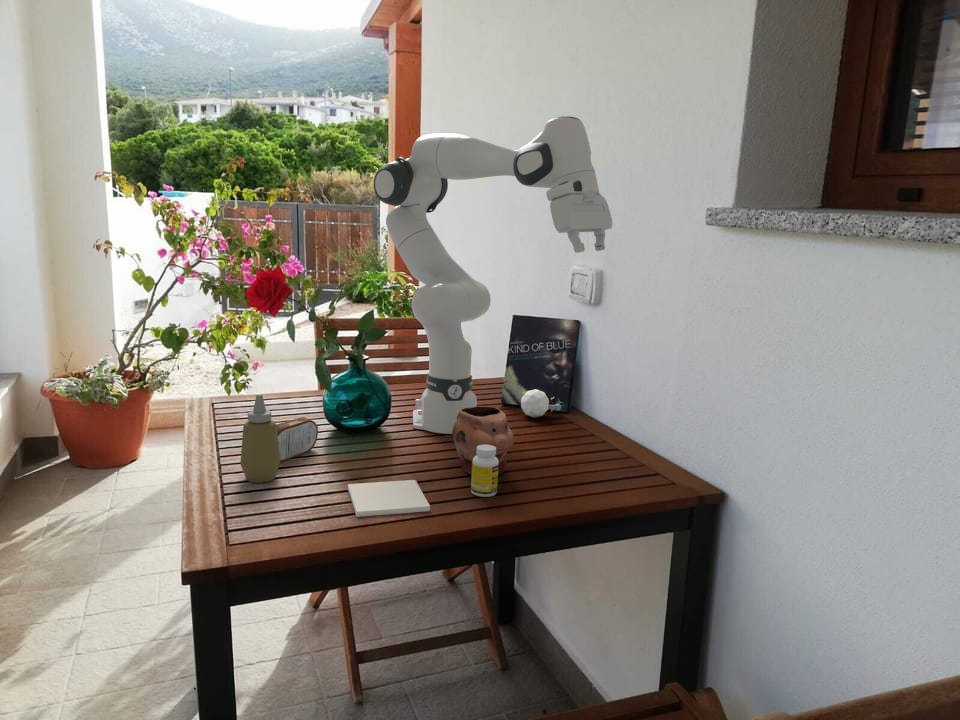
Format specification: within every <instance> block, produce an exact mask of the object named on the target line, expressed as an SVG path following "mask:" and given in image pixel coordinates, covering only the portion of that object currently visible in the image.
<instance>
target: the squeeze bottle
mask: <svg viewBox="0 0 960 720" xmlns="http://www.w3.org/2000/svg"><path fill="white" fill-rule="evenodd" d="M247 420H248V421H246V422H245V423H244V424H243V427H242V428H243V429H242V436H241V437H242V438H241V448H240V450H241V451H240V463H239V465H240V467H241V469H242V472H243V475H244V477H245V479H246V480H247V482H250V483H255V484H257V483H260V484H261V483H266V482H271V481H273V480H274V479H276V478H277V477H276V476H277V472H278V470H279V467H280V465H281V461H280V452H279V443H278V435H277V427H276V425H277V422H275V421H273V420H272V411H271V410H269V409H267V408H266V405H265V399H264V396H263V394H256V396H255V400H254V405H253V409H252V410H250V411H248V412H247Z"/></svg>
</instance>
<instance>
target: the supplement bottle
mask: <svg viewBox="0 0 960 720" xmlns="http://www.w3.org/2000/svg"><path fill="white" fill-rule="evenodd" d="M476 452H477V453H476V454H477V456H475V457H474V458H473V461H472V474H471V477H470V478H471V481H470V492H471V494H472V495H474V496H477V497H483V498H488V497H489V498H490V497H493V496H495V495H496V494H497V492H498V483H499V482H498V479H499V475H498V465H499V461H498V459H497V458H496V457H495V455H496V447H495V446H492V445H479V446H477V450H476Z"/></svg>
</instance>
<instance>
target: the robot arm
mask: <svg viewBox="0 0 960 720" xmlns="http://www.w3.org/2000/svg"><path fill="white" fill-rule="evenodd" d="M587 133H588V132H587V131H586V128H585V125H584V123H583V121H582V120H581V119H580V118H579V117H575V116H570V115H566V116H556V117H553V118H552V117H551V118H550V119H548V120H547V121H546V123H545V124H544V127H543V129H542V130H541V131H540V132H539V134H538V135H537V136H536V137H534V138H533V139H532V140H531V141H529V142H528V143H527V144H525V145H522V146H521V147H520V148H519V149H511V148H507V147H504V146H503V147H502V146H500V145H497V144H495V143H494V144H493V143H491V142H488V141H484V140H481V139H479V138H477V137H473V136H470V135H465V134H463V133H462V134H461V133H455V132H453V133H452V132H435V133H429V134H424V135H422V136H419V137H418V138H417V139H416V140H415V141H414V143H413V145H412V148H411V154H410V155H409V157H408V158H404V157H402V156H399V157H397V158H395V159H394V160H393V161H390V162H388V163H386V164H384V165H382V166H381V167H379V169H377V171H376V173H375V174H374V177H373V190H374V194H375V196H376V197H377V198H378V200H379V201H380V202H382V203H384V204H385V205H389V206H393V208H391V210H389V212H388V213H387V215H386V218H385V224H386V228H387V231H388V234H389V236H390V239H391V240H392V242H393V245H394V247H395V249H396V250H397V253H398V254H399V256H400V258H401V259H402V262H403V263H404V264H405V266H406V268H407V270H408V271H409V273H410V274H411V276H412V277H413V278H414V279H415V280H417V281H419V282H420V283H422V284H424V285H423V286H421V287H419V288H418V289H416V291H414V292H413V295H412V299H411V310H412V313H413V316H414V318H415V319H416V320H417V321H418V322H419V323H420V324H421V325H422V327H423V329H424V332H425V334H426V337H427V342H428V374H427V375H426V384H425V386H426V388H425V390H424V391H423V393H422V394H421V397H420V398H416V399H415V401H414V402H415V408H417V409H414V410H412V428H413V429H417V430H424V431H428V432H431V433H436V434H446V435H448V434H449V435H452V430H453V426H454V424H455V422H456V421H457V415H458V413H459V411H460V410H461V409H463V408H466V407H475V406H478V404H477V400H478V399H477V395H476V394H474V392H473V391H472V388H473V376H472V374H471V373H472V372H471V371H472V346H471V344H470V343H469V342H468V341H467V340H466V339H465V336H464V334H463V329H462V323H465V322H466V323H467V322H469V321H470V322H472V321H474V320H476V319H479V318H480V317H482V316H483V315H485V314H486V313H487V312H488V311H489V309H490V305H491V301H492V300H491V299H492V298H491V294H490V292H489V289H488V288H487V287H486V285H484V284H483V283H482V282H480V281H478V280H476V279H474V278H473V277H472V276H471V275H469V274H468V273H467V271H465V270H464V269H463V268H462V267H461V266H460V264H458V263H457V261H455V259H453V258H452V256H451V255H450V254H449V252H448V251H447V249H446V248H445V246H444V245H443V243H442V241H441V240H440V239H439V237H438V235H437V234H436V231H435V230H434V229H433V227H432V225H431V224H430V222H429V220H428V218H427V213H432V212H434V211H435V210H436V208H437V207H438V205H439V204H440V203H442V201H443V199H444V198H445V196H446V195H447V192H448V188H449V187H448V186H449V185H448V184H449V181H448V180H453V181H455V180H456V181H458V180H459V181H460V180H461V181H462V180H465V181H466V180H474V179H475V180H476V179H481V178H482V179H483V178H489V177H500V176H503V177H504V176H507V177H508V176H509V177H510V176H511V177H515V179H516V180H517V181H518V182H519V183H520V184H521V185H523V186H526V187H530V188H545V189H548V190H547V191H546V192H545V193H546V199H547V200H548V201H549V202H550V203H549V208H550V214H551V218H552V221H553V223H552V224H553V226H554V229H555V230H556V232H557V233H559V234H565V233H567V238H568V239H569V241H570V243H571V244H572V247H573V251H574V253H577V254H578V253H582V252H585V250H586V248H585V244H584V242H582V240H581V238H580V233H591V232H593V236H594V237H595V243H594V244H593V245H594V248H595V249H594V250H595V251H596V252H600V251H604V250H605V249H606V244H605V239H606V231H607V230H611V229H612V228H613V224H614V223H613V219H612V215H611V211H610V210H611V209H610V208H609V204H608V201H607V200H606V198H605V197H604V196H603V195H602V194H601V193H600V189H599V183H598V179H597V175H596V170H595V168H594V166H593V164H592V159H591V158H592V156H591V155H592V151H591V150H592V149H591V146H590V145H591V144H590V142H589V138H588V134H587Z"/></svg>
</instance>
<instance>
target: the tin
mask: <svg viewBox="0 0 960 720" xmlns="http://www.w3.org/2000/svg"><path fill="white" fill-rule="evenodd" d="M276 427H277V435H278V443H279V452H280V462H285V461H288V460H291V459H294V458H296V457H299V456H302V455H306V454H307V453H309V452H311V450H313V448H314V447H315V445H316V444H317V441H318V435H319V427H318V424H317V423H316V422H315V421H314V420H312V419H309V418H307V417H305V416H302V417H298V418H295V419H291V420H287V421H284V422H281V423H278V424H277V423H276Z"/></svg>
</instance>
